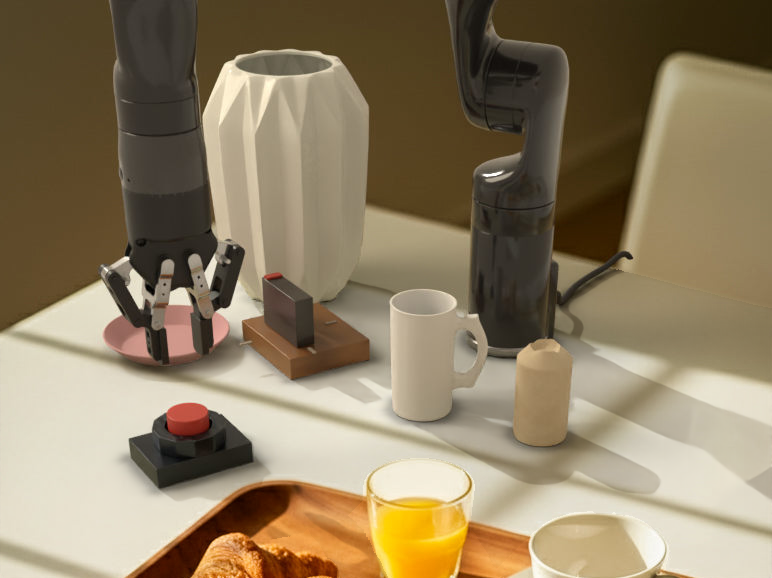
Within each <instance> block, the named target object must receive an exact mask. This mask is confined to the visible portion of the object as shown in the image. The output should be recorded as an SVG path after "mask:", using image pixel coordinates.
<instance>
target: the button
mask: <svg viewBox="0 0 772 578" xmlns="http://www.w3.org/2000/svg"><path fill="white" fill-rule="evenodd" d="M208 410H209V409H208V407H207V406H206V405H204V404H202V403H198V402H182V403H178V404H175V405H172V406H171V407H169V408H168V409H167V411H166V412H167V414H166V415H167V424H168V430H169V432H170V433H172V434H175V435H179V436H190V435H196V434H200V433H203V432H206V431H207V430H208V429H209V427H210V424H209V413H208Z"/></svg>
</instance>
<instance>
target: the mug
mask: <svg viewBox="0 0 772 578" xmlns="http://www.w3.org/2000/svg"><path fill="white" fill-rule="evenodd" d="M389 305H390V306H389V308H390V309H389V310H390V311H389V316H390V317H389V324H390V325H389V327H390V328H389V329H390V332H389V333H390V334H389V335H390V366H391V367H390V371H391V373H390V374H391V398H392V400H391V401H392V402H391V404H392V410H393V412H394V413H395V414H396V416H399V417H400V418H402V419H405V420H408V421H413V422H433V421H437V420H440V419H443V418H445V417H446V416H448V415H449V414H450V412H451V410H452V406H453V405H452V403H453V392H454V390H456V389H460V388H461V389H462V388H465V389H472V388H473V387H474V386H475V385H476V383H477V380H478V378H479V376H480V374H481V373H482V370H483V368H484V366H485V364H486V360H487V357H488V354H487V352H488V343H487V338H486V335H485V332H484V330H483V327H482V325H481V323H480V321H479V316H478V314H467V315H466V316H465V317H464V316H459V315H458V313H457V308H458V307H457V306H458V300H457V298H455V297H454V295H452V294H449V292H446V291H445V292H444V291H441V290H438V289H437V290H435V289H430V288H429V289H428V288H415V289H408V290H405V291H404V290H403V291H401V292H398V293H396V294H395V295H393V296H392V297H390V299H389ZM460 330H465V331H466V330H468V331H470V332H471V333H472V334H473V335H474V337H475V339H476V341H477V345H478V351H477V353H476V357H475V360H474V362H473V365H472V366H471V368H469V369H468V370H467V371H465V372H459V371H456V370H455V366H454V365H455V348H456V347H455V346H456V345H455V344H456V333H457V332H458V331H460Z"/></svg>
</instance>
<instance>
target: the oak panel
mask: <svg viewBox="0 0 772 578" xmlns="http://www.w3.org/2000/svg"><path fill="white" fill-rule="evenodd" d="M313 316H314V344H311V345H307V346H303V347H299V348H297V347H296V346H294V345H293V344H292V343H290V342H289V341H288V340H287V339H285V338H284V337H283V336H281V335H280V334H279V333H278V332H276V331H275V330H274V329H272V328H271V327H270V326H269V325H267V324H266V323H265V322H264V312H263V313H262V315H258V316H254V317H250V318H246V319H241V328H242V340H243V341H244V342H240V343H239V346H241V347H243V346H247V345H248V346H250V347H251V348H252V349H253V350H255V351H256V352H257V353H258V354H259V355H260V356H262V357H263V358H264V359H266V360H267V361H268V363H270V364H272V365H273V366H274V368H276V369H277V370H279V371H280V372H281V373H283V375H285V376H286V377H287V378H288V379H289V380H290V381H293V380H296V379H300V378H304V377H308V376H312V375H315V374H319V373H323V372H327V371H331V370H335V369H338V368H342V367H346V366H350V365H353V364H358V363H362V362H366V361H369V360H370V359H371V352H370V351H371V350H370V349H371V348H370V347H371V346H370V344H371V343H370V342H371V341H370V338H369V337H367V336H366V335H364V334H363V333H361V331H358V329H356V328H355V327H354V326H352V325H350V324H349V323H348V322H346V321H345V320H343V319H342V318H340V317H339V316H338V315H336V314H335V313H334V312H332V311H331V310H329V308H327V307H325V306H324V305H323V304H321V302H320V303H314V304H313Z"/></svg>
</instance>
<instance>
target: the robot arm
mask: <svg viewBox="0 0 772 578" xmlns="http://www.w3.org/2000/svg"><path fill="white" fill-rule="evenodd" d="M443 1H444V6H445V11H446V16H447V20H448V26H449V27H448V28H449V37H450V45H451V51H452V58H453V66H454V74H455V75H454V76H455V83H456V88H457V89H456V90H457V94H458V100H459V105H460V108H461V111H462V114H463V116H464V118H465V119H466V121H467V122H468V123H469V125H471V126H472V127H474V128H477V129H480V130H483V131H487V132H495V133H500V134H507V135H514V136H521V137H523V144H522V148H521V150H520V151H518V152H516V153H513V154H510V155H505V156H500V157H496V158H493V159H489V160H487V161H485V162H483V163H480V164H479V165H477V166H476V168H475V169H474V170H473V174H472V179H471V203H470V236H469V237H470V239H469V266H468V267H469V269H468V295H467V297H468V298H467V309H466V308H465V307H464V311H463V317H465V316H466V315H467V314H478V316H479V321H480V323H481V325H482V327H483V330H484V332H485V335H486V338H487V343H488V352H487V356H493V357H500V358H517V355H518V353H519V352H521V351H522V350H523V349H524V348H525V347H527V346H528V345H529V344H530V343H534V342H536V341H537V340H539V339H553V340H555V325H556V312H557V306H561V305H563V304H565V303H566V302H567V301H568V300H569V299H570V298H571V297H572V296H573V295H574V293H576V291H577V290H578V289H580V288H581V287H582V286H584V285H585V284H586V283H587V282H589V281H591V280H592V279H594V278H595V277H597V276H599V275H600V274H602V273H604V272H605V271H607V270H608V269H610V268H611V267H612V266H613V265H615V264H616V263H617V262H619V260H621V259H622V258H626V260H629V261H631V260H632V261H633V260H634V257H633V254H631V252H629V251H627V250H621V251H619V252H618V253H615V254H614V255H613V256H612V257H611V258H610V259H608V260H607V261H606V262H605V263H603V264H602V265H600V266H599V267H597V268H595V269H593V270H591V271H590V272H588V273H587V274H586V275H584V276H582V277H581V278H580V279H578V280H577V281H575V282H574V283H573V284H572V285H571V286H570V287H568V288H567V290H566V291H565V292H564V293H563V295H562V292H560V290H558V286H559V285H558V284H559V283H558V282H559V271H560V269H559V268H560V265H559V263H558V262H557V261H556V260H555V259H553V251H554V235H555V221H556V208H557V207H556V205H557V192H558V183H559V181H558V180H559V176H560V175H559V174H560V169H561V162H562V150H563V140H564V132H565V131H564V130H565V122H566V115H567V109H568V108H567V106H568V100H569V90H570V66H569V65H570V63H569V60H568V56H567V54H566V51H564V49H563V48H562V47H560V46H558V45H554V44H548V43H540V42H533V41H525V40H523V41H522V40H515V39H506V38H501V37H500V36H499V35H498V34H497V33H496V29H495V26H494V19H493V17H494V16H493V15H494V12H495V10H496V8H497V5H498V3H499V2H500V0H443ZM108 2H109V7H110V13H111V20H112V28H113V38H114V46H115V47H114V48H115V55H116V60H115V61H114V65H113V74H112V78H113V79H112V80H113V81H112V83H113V84H112V85H113V94H114V101H115V110H116V120H117V133H118V134H117V135H118V136H117V138H118V139H117V155H118V176H119V179H120V182H121V183H120V184H121V191H122V192H121V193H122V201H123V209H124V210H123V211H124V219H125V227H126V234H127V244H126V247H125V249H124V256H123V257H121V258H120V259H118V260H117V261H115V262H114V263H112V264H111V265H110V264H108V263H102V264H100V265H99V266H98V268H97V273H98V275H99V277H100V278H101V280H102V282H103V284H104V285H105V288H106V290H107V291H108V293H109V294H110V296H111V298H112V300H113V301H114V304H115V305H116V307H117V308H118V311H119V312H120V313H121V315H123V317H124V318H125V319H126V320H127V321H129V322H130V323H131V324H132V325H133V326H134V327H135V328H141V327H145V336H146V345H147V352H148V353H149V355H150V356H151V357H152V358H153V359H154V360H155V361H157V362H158V363H159V364H160V365H161V366H160V367H165V366H164V365H168V364H169V352H168V342H167V332H166V328H164V327H163V326H164V320H165V311H166V307H167V306H168V305H170V298H171V297H170V296H171V292H174V291H177V289H180V288H181V289H185V291H186V293H187V296H188V300H189V302H190V306H192V308H193V311H194V312H193V313H190V316H191V327H192V338H193V347H194V350H195V351H196V352H197V353H198V354H199V355H201V356H204V357H206V356H209V355H210V353H209V348H212V347H213V344H214V337H213V324H212V316H213V315H214V313H215V312H216V313H217V311H219V310H221V309H224V310H225V309H228V308H229V307H230V306H231V304H232V301H233V299H234V298H233V297H234V294H235V291H236V287H237V284H238V277H239V273H240V270H241V266H242V263H243V259H244V256H245V250H244V248H242V247H241V246H240V245H239V244H237V243H236V242H235V241H233V240H231V239H226V240H224V241H222V240H219V238H218V237H217V236H216V235H215V234H214V231H213V229H212V227H213V226H212V224H213V219H212V218H213V217H212V205H211V203H212V202H211V189H210V179H209V172H208V165H207V153H206V145H205V140H204V130H203V124H202V116H201V102H200V101H201V100H200V91H199V80H198V75H197V67H196V66H197V65H196V61H197V49H198V25H199V4H198V3H199V2H198V0H108ZM213 258H214V259H215V262H216V264H215V268H214V272H213V275H212V279H211V283H210V286H209V285H208V284H209V283H208V281H207V278H206V275H205V274H206V273H205V272H206V271H207V269H208V268H209V265H210V263H211V261H212V259H213ZM132 270H134V271H135V272H136V273H137V274H138V275H139V276H140V277H141V278H142V284H141V295H142V304H141V305H142V307H141V308H142V309H141V308H139V306H138V304H137V303H136V301H135V299H134V297H133V295H132V293H131V292H130V290H129V288H128V287H129V286H130V284H131V276H130V275H131V274H130V273H131V271H132ZM465 341H466V343H467V345H468V346H470V348H472V349H473V350H475V351H477V352H478V345H477V341H476V339H475V337H474V335H473V334H472V333H471V332H470V331H468V330H465ZM205 355H206V356H205Z"/></svg>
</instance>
